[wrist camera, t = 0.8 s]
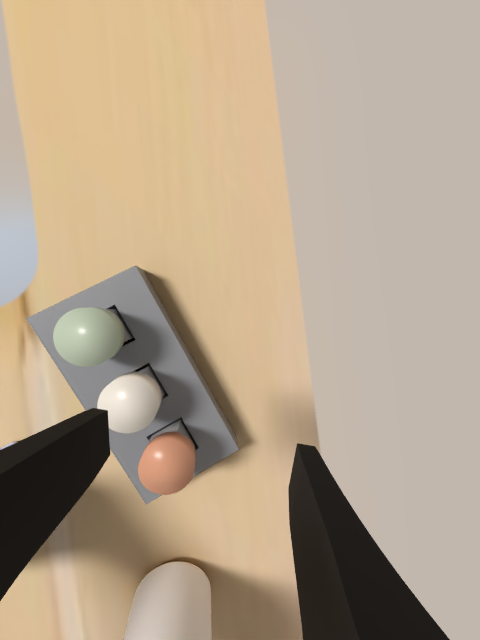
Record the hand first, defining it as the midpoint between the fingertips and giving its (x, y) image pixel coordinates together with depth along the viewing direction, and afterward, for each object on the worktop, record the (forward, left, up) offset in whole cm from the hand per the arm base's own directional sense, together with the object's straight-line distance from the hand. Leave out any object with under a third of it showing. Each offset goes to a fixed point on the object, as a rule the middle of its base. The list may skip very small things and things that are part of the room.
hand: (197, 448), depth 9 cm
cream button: (-6, 0, -14) cm, 16 cm away
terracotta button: (-6, -6, -14) cm, 17 cm away
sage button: (-6, +6, -14) cm, 17 cm away
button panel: (-6, 0, -16) cm, 17 cm away
